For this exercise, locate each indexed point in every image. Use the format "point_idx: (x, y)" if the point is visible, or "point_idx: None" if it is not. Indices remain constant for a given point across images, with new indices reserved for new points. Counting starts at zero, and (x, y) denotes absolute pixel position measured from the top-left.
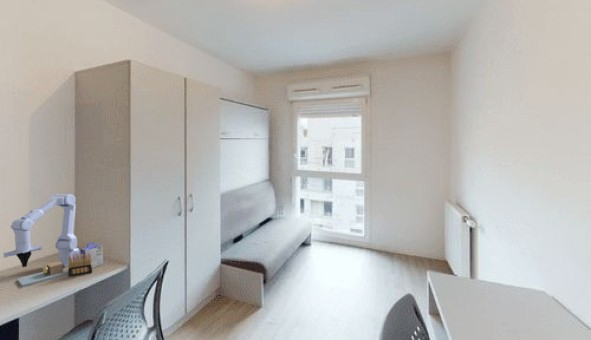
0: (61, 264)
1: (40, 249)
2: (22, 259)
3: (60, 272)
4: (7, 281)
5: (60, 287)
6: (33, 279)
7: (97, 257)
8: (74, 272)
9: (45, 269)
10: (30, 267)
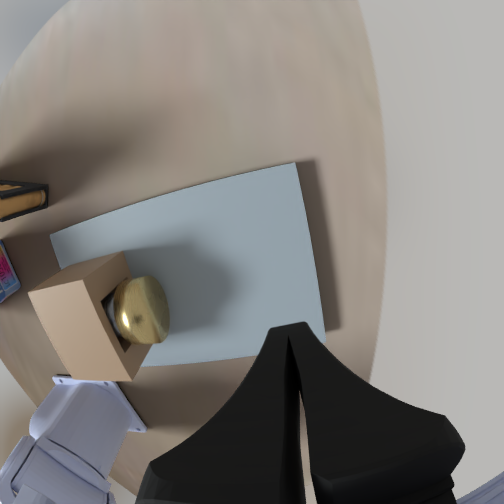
0: (33, 290)
1: (35, 498)
2: (339, 396)
3: (76, 263)
4: (366, 353)
5: (90, 27)
6: (226, 246)
7: None
8: (12, 187)
9: (130, 295)
10: None
